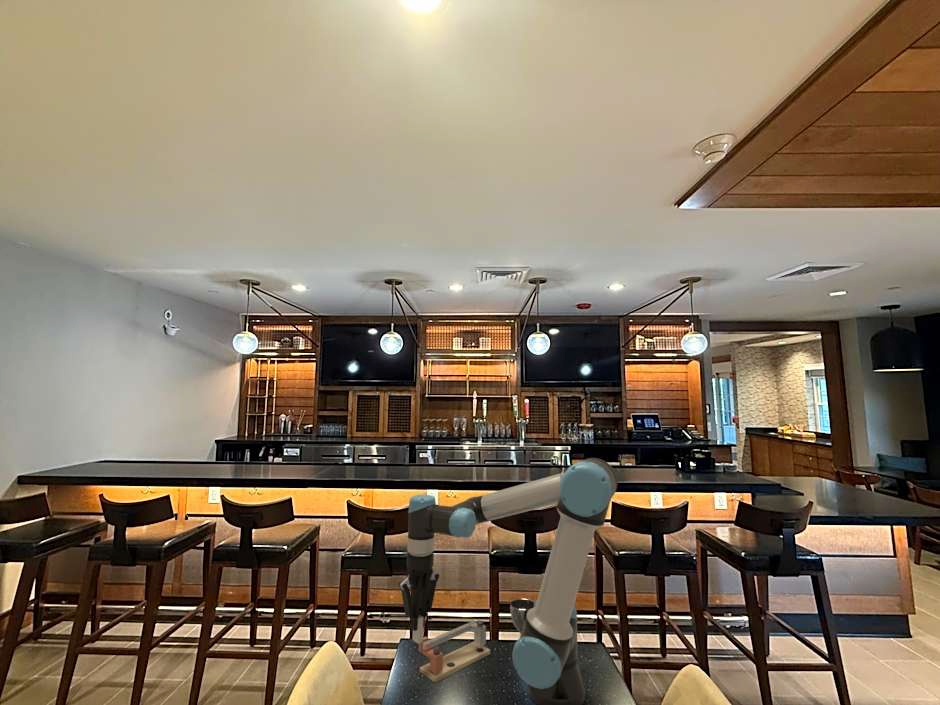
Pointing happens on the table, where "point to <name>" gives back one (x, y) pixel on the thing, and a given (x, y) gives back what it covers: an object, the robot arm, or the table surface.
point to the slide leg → (433, 657)
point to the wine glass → (520, 612)
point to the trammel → (471, 626)
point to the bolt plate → (456, 661)
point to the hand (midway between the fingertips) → (417, 640)
